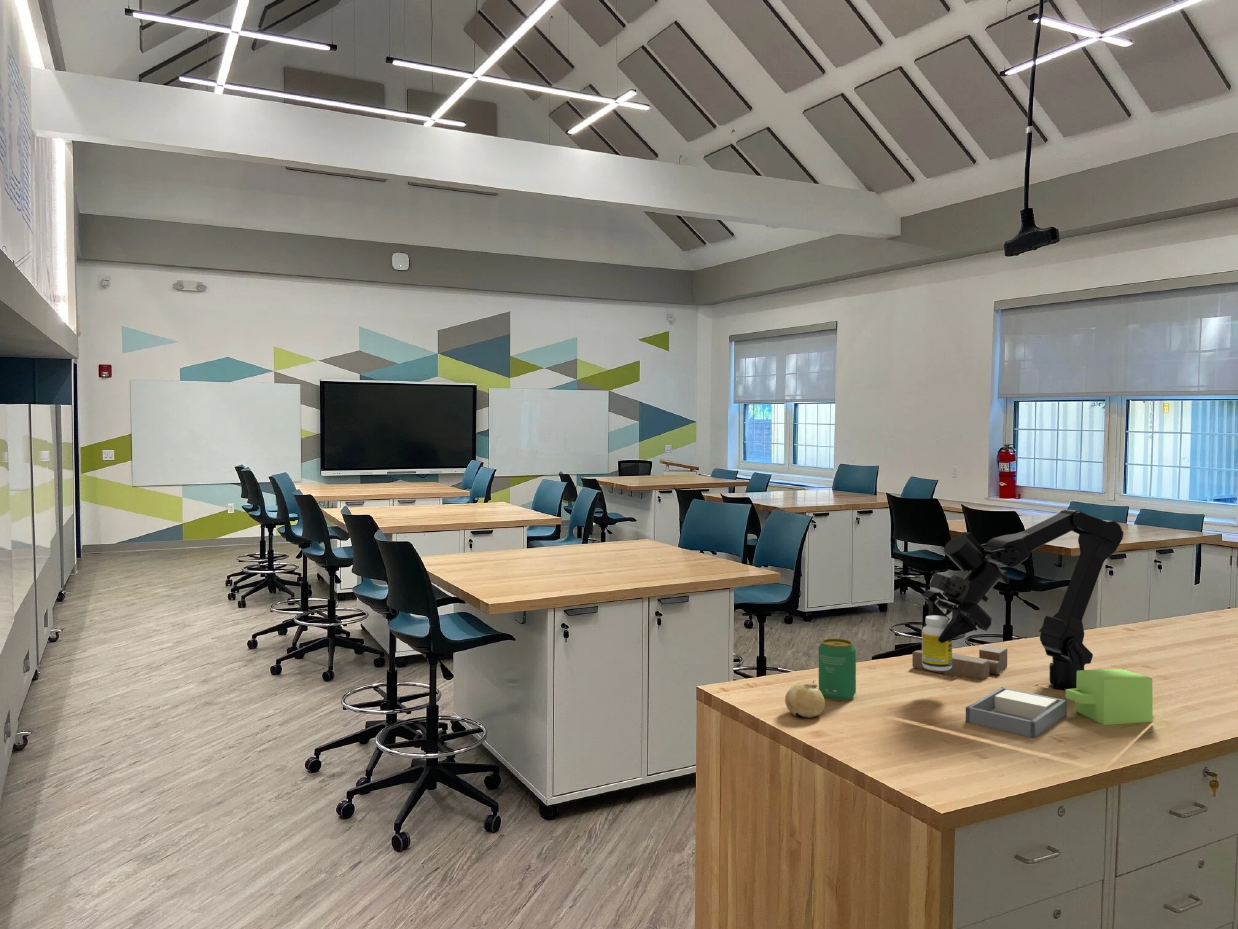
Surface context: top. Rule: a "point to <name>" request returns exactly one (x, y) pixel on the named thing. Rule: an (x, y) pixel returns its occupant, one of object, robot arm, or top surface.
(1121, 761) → the top surface
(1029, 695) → the cream rectangular block
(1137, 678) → the green tabbed block
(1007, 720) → the tote
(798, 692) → the onion
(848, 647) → the beverage can
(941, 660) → the pill bottle
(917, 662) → the wooden block set
